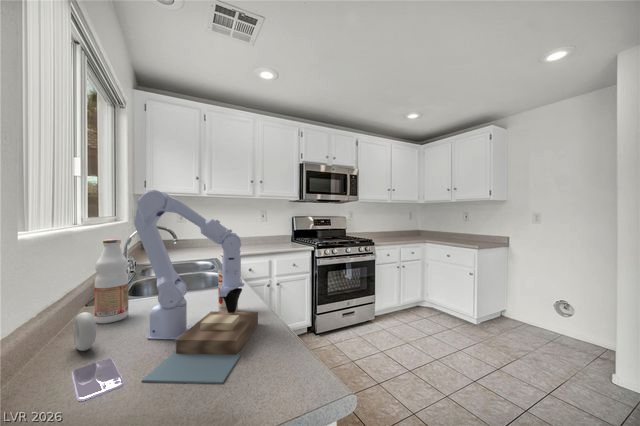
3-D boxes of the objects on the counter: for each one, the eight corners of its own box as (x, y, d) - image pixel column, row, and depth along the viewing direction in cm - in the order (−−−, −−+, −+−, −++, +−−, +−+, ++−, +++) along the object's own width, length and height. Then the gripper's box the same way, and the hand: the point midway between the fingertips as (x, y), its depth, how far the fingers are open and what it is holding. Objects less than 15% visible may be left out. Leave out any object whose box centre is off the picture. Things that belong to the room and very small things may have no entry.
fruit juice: (103, 326, 86) (103, 241, 87) (88, 321, 91) (89, 240, 91) (134, 316, 95) (134, 238, 95) (119, 312, 99) (119, 238, 99)
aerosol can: (216, 311, 99) (215, 258, 99) (234, 307, 103) (233, 256, 103) (222, 317, 93) (221, 261, 94) (240, 312, 98) (240, 259, 98)
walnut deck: (175, 355, 68) (175, 339, 68) (210, 323, 88) (210, 311, 88) (236, 356, 68) (236, 340, 68) (257, 323, 88) (257, 311, 88)
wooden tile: (200, 329, 74) (200, 322, 74) (210, 321, 80) (210, 314, 80) (231, 330, 74) (231, 323, 74) (239, 321, 80) (239, 314, 80)
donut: (98, 352, 70) (98, 314, 70) (80, 358, 67) (80, 319, 67) (87, 341, 76) (87, 307, 76) (71, 346, 73) (71, 310, 73)
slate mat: (141, 381, 57) (141, 380, 57) (174, 353, 69) (174, 351, 69) (222, 383, 57) (222, 381, 57) (241, 354, 69) (241, 352, 69)
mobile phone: (111, 356, 67) (125, 381, 57) (111, 360, 67) (125, 386, 56) (70, 369, 61) (77, 400, 51) (70, 373, 61) (77, 405, 51)
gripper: (235, 275, 78) (235, 321, 78) (250, 266, 93) (250, 304, 93) (212, 275, 79) (212, 320, 79) (230, 266, 93) (230, 304, 93)
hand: (231, 312), depth 86 cm, fingers closed
